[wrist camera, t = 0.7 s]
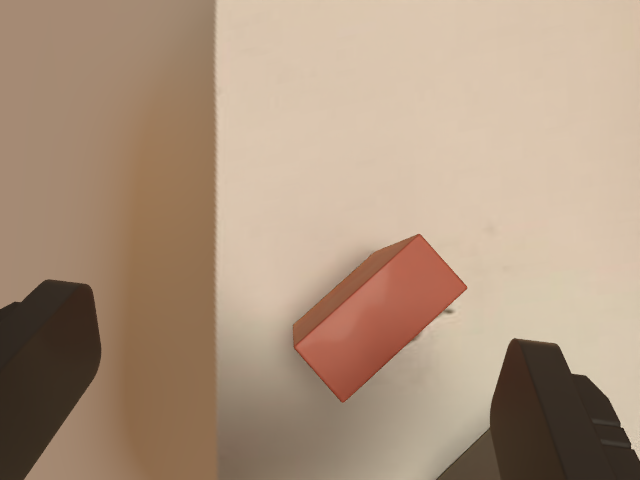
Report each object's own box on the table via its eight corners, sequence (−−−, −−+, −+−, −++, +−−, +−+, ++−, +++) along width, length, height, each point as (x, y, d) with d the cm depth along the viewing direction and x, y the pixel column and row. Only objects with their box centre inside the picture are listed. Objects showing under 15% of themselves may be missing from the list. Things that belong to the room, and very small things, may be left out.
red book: (292, 325, 29) (292, 347, 19) (375, 250, 29) (419, 232, 19) (325, 362, 29) (342, 404, 19) (408, 287, 29) (468, 287, 19)
